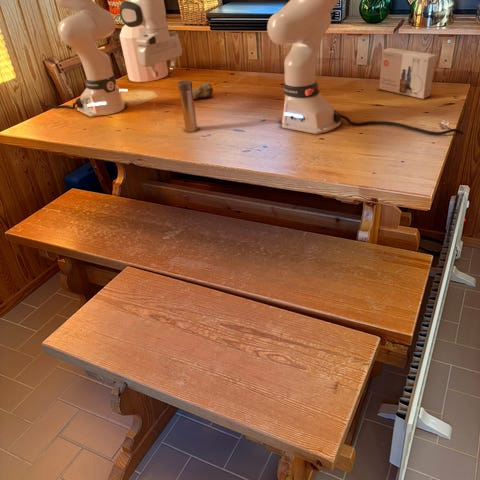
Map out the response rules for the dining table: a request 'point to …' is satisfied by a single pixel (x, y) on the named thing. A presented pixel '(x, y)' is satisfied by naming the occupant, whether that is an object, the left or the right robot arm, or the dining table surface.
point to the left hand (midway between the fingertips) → (164, 73)
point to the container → (131, 56)
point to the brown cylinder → (188, 110)
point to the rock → (203, 91)
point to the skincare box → (407, 72)
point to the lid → (184, 85)
